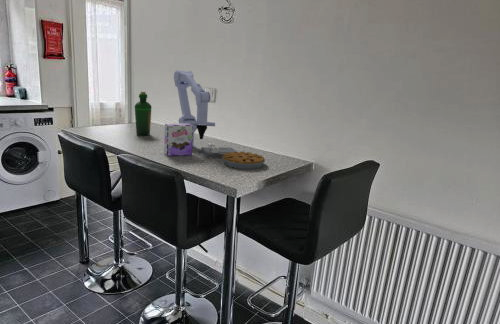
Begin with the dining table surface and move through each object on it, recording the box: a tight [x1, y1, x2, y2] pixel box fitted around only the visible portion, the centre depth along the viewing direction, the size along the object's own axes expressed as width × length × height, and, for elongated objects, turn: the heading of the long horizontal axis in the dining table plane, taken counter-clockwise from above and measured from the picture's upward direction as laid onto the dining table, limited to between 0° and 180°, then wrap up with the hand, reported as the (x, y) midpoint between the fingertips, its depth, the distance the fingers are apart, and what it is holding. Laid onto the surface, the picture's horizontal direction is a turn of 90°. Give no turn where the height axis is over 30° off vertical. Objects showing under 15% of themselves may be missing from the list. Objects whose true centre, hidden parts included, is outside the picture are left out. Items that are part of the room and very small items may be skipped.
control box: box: [200, 146, 238, 159], centre depth 189 cm, size 18×16×2 cm
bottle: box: [134, 91, 152, 137], centre depth 222 cm, size 11×11×28 cm
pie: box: [221, 151, 266, 170], centre depth 173 cm, size 22×22×5 cm
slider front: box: [211, 145, 219, 153], centre depth 183 cm, size 3×4×3 cm
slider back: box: [207, 142, 216, 149], centre depth 191 cm, size 3×4×3 cm
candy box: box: [163, 122, 193, 157], centre depth 179 cm, size 14×6×16 cm, turn 117°
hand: (201, 138), depth 188 cm, fingers closed
